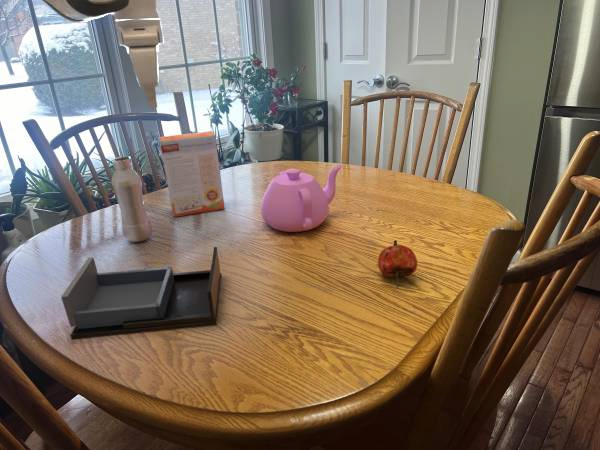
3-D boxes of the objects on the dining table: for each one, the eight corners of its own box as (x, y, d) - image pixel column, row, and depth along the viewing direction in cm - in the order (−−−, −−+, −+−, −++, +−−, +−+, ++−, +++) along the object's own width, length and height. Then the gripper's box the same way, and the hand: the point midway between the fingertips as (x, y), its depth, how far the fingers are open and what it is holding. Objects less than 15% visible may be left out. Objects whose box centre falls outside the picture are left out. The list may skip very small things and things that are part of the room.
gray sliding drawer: (71, 329, 73) (61, 296, 70) (96, 287, 85) (88, 257, 82) (162, 321, 74) (155, 288, 72) (174, 280, 86) (169, 250, 84)
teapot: (361, 229, 106) (363, 175, 100) (276, 246, 100) (272, 189, 94) (325, 199, 125) (325, 152, 119) (252, 212, 118) (247, 162, 113)
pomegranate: (417, 296, 84) (419, 248, 88) (414, 282, 78) (416, 232, 82) (379, 294, 86) (382, 248, 91) (373, 280, 80) (377, 232, 85)
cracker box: (221, 202, 126) (212, 130, 117) (225, 209, 121) (216, 134, 112) (171, 209, 122) (158, 135, 113) (173, 217, 117) (159, 140, 108)
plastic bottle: (141, 246, 102) (124, 164, 94) (118, 243, 104) (99, 162, 96) (158, 235, 108) (143, 156, 99) (136, 231, 110) (119, 154, 101)
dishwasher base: (71, 339, 72) (60, 305, 69) (100, 286, 87) (92, 256, 84) (216, 325, 74) (211, 291, 71) (221, 276, 89) (217, 246, 86)
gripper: (125, 35, 98) (137, 99, 103) (122, 37, 80) (136, 113, 86) (155, 34, 99) (165, 97, 105) (158, 35, 81) (170, 110, 87)
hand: (152, 104), depth 95 cm, fingers open, 8 cm apart
